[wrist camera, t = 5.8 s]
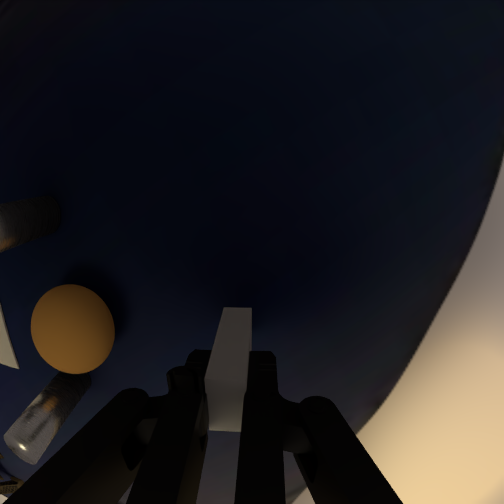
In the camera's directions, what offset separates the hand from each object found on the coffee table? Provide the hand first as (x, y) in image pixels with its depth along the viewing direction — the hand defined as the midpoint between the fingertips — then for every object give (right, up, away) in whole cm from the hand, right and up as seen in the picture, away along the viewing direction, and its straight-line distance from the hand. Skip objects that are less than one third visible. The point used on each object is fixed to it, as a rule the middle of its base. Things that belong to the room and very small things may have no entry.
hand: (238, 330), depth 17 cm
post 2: (-13, -6, +4) cm, 15 cm away
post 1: (-13, +7, +1) cm, 15 cm away
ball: (-10, 0, 0) cm, 10 cm away
